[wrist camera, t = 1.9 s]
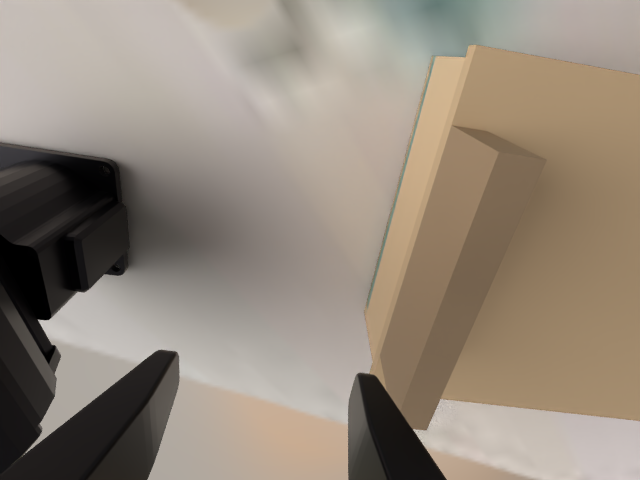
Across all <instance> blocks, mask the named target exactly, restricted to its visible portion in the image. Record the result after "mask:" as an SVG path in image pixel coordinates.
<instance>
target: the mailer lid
mask: <svg viewBox="0 0 640 480" xmlns="http://www.w3.org/2000/svg"><path fill="white" fill-rule="evenodd" d="M369 374H373V375H375V376H377V378H378V379H379V380H380V382H381V383H382V385H383V386H384V388H385V389H386V391H387V392H388V394H389V395H390V397H391V398H392V400H393V401H394V403H395V404H396V406H397V407H398V409H399V410H400V411H401V413H402V414H403V416H404V417H405V419H406V420H407V422H408V423H409V425H410V426H411V428H412V429H418V430H427V428H428V426H429V423H430V421H431V419H432V417H433V414H434V412H435V410H436V408H437V405H438V403H439V401H440V399H446V400H455V401H464V402H473V403H482V404H491V405H500V406H509V407H518V408H528V409H537V410H546V411H555V412H564V413H573V414H582V415H591V416H600V417H609V418H618V419H627V420H636V421H640V75H637V74H631V73H626V72H621V71H615V70H610V69H604V68H599V67H593V66H588V65H583V64H577V63H572V62H566V61H561V60H555V59H550V58H545V57H539V56H534V55H528V54H523V53H517V52H512V51H507V50H501V49H496V48H490V47H485V46H480V45H469V47H468V50H467V54H466V57H465V60H464V63H463V67H462V70H461V73H460V77H459V80H458V83H457V87H456V90H455V93H454V96H453V100H452V103H451V106H450V110H449V113H448V116H447V119H446V123H445V126H444V129H443V133H442V136H441V139H440V143H439V146H438V149H437V152H436V156H435V159H434V162H433V166H432V169H431V172H430V175H429V179H428V182H427V185H426V189H425V192H424V195H423V198H422V202H421V205H420V208H419V212H418V215H417V218H416V222H415V225H414V228H413V231H412V235H411V238H410V241H409V245H408V248H407V251H406V254H405V258H404V261H403V264H402V268H401V271H400V274H399V277H398V281H397V284H396V287H395V291H394V294H393V297H392V301H391V304H390V307H389V310H388V314H387V317H386V320H385V324H384V327H383V330H382V333H381V337H380V340H379V343H378V347H377V350H376V353H375V357H374V360H373V363H372V366H371V370H370V373H369Z"/></svg>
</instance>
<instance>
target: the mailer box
mask: <svg viewBox="0 0 640 480" xmlns="http://www.w3.org/2000/svg"><path fill="white" fill-rule="evenodd" d="M464 60H465V57H444V56H432V58H431V62H430V65H429V69H428V73H427V77H426V80H425V84H424V88H423V92H422V95H421V99H420V103H419V107H418V110H417V114H416V118H415V122H414V125H413V129H412V133H411V137H410V141H409V144H408V148H407V152H406V156H405V159H404V163H403V167H402V171H401V174H400V178H399V182H398V186H397V189H396V193H395V197H394V201H393V204H392V208H391V212H390V216H389V219H388V223H387V227H386V231H385V234H384V238H383V242H382V246H381V250H380V253H379V257H378V261H377V265H376V268H375V272H374V276H373V280H372V283H371V287H370V291H369V295H368V298H367V302H366V306H365V310H364V314H365V320H366V325H367V331H368V337H369V343H370V349H371V355H372V361H373V360H374V357H375V353H376V350H377V347H378V343H379V340H380V337H381V333H382V330H383V327H384V324H385V320H386V317H387V314H388V310H389V307H390V304H391V301H392V297H393V294H394V291H395V287H396V284H397V281H398V277H399V274H400V271H401V268H402V264H403V261H404V258H405V254H406V251H407V248H408V245H409V241H410V238H411V235H412V231H413V228H414V225H415V222H416V218H417V215H418V212H419V208H420V205H421V202H422V198H423V195H424V192H425V189H426V185H427V182H428V179H429V175H430V172H431V169H432V166H433V162H434V159H435V156H436V152H437V149H438V146H439V143H440V139H441V136H442V133H443V129H444V126H445V123H446V119H447V116H448V113H449V110H450V106H451V103H452V100H453V96H454V93H455V90H456V87H457V83H458V80H459V77H460V73H461V70H462V67H463V63H464Z"/></svg>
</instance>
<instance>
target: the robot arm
mask: <svg viewBox="0 0 640 480" xmlns="http://www.w3.org/2000/svg"><path fill="white" fill-rule="evenodd" d="M103 166H105V167H107V168H108V169H109V171H110V174H108V173H106V172H105V171H104V169H103ZM129 247H130V245H129V235H128V224H127V213H126V206H125V205H124V203H123V202H122V196H121V185H120V175H119V169H118V166H117V165H116V163H115V162H113V161H112V160H109V159H104V158H98V157H91V156H84V155H78V154H71V153H64V152H58V151H51V150H44V149H38V148H31V147H24V146H17V145H11V144H4V143H0V480H147V479H148V477H149V474H150V472H151V469H152V467H153V464H154V462H155V458H156V456H157V453H158V450H159V446H160V443H161V440H162V437H163V434H164V431H165V428H166V425H167V421H168V418H169V415H170V412H171V409H172V406H173V402H174V399H175V396H176V393H177V389H178V385H179V355H178V353H177V352H175V351H167V350H158V351H156V352H154V353H153V354H152V355H151V356H149V357H148V358H147V359H145V360H144V361H143V362H142V363H140V364H139V365H138V366H137V367H135V368H134V369H133V370H132V371H130V372H129V373H128V374H127V375H125V376H124V377H123V378H121V379H120V380H119V381H118V382H116V383H115V384H114V385H112V386H111V387H110V388H109V389H107V390H106V391H105V392H104V393H102V394H101V395H100V396H99V397H97V398H96V399H95V400H93V401H92V402H91V403H90V404H88V405H87V406H86V407H84V408H83V409H82V410H81V411H79V412H78V413H77V414H76V415H74V416H73V417H72V418H70V420H68V421H67V422H65V423H64V424H63V425H62V426H60V427H59V428H58V429H56V430H55V431H54V432H53V433H51V434H50V435H49V436H48V437H46V438H45V439H44V440H42V441H41V442H40V443H39V444H37V445H36V446H35V447H34V448H33V449H31V450H30V451H28V452H27V453H26V454H25V452H26V451H27V450H28V449H29V448H30V447H31V446H32V444H33V443H34V442H35V441H36V440H37V439H38V437H39V436H40V434H41V432H42V427H41V425H40V422H41V421H42V419H43V417H44V415H45V414H46V412H47V410H48V408H49V406H50V404H51V402H52V400H53V399H54V397H55V388H56V377H55V375H54V374H55V371H56V368H57V366H58V363H59V360H60V358H61V355H60V353H59V351H58V349H57V347H56V346H55V345H51V343H50V341H49V339H48V337H47V336H46V334H45V332H44V330H43V328H42V327H41V325H40V323H39V321H38V320H37V319H39V320H49V319H50V318H52V317H53V316H54V315H55V314H56V313H57V312H58V311H59V310H60V309H61V308H62V307H63V306H64V305H65V304H66V303H67V302H68V301H69V300H70V299H71V298H72V297H73V296H74V295H75V294H76V293H77V292H86V291H87V290H89V289H90V288H91V287H92V286H93V285H94V284H95V283H96V282H97V281H98V280H99V279H100V278H101V277H102V276H103V275H104V274H108V275H116V276H119V275H122V274H123V273H124V272H125V271H126V270H127V268H128V258H127V250H128V249H129ZM115 264H117V265H118V266H119V267H120V268H118V267H116V266H115ZM24 454H25V455H24ZM348 473H349V474H348V475H349V480H447V479H446V478H445V477H444V475H443V473H442V472H441V471H440V469H439V468H438V466H437V465H436V463H435V462H434V460H433V459H432V457H431V456H430V454H429V453H428V451H427V450H426V448H425V447H424V445H423V444H422V442H421V441H420V440H419V438H418V437H417V435H416V434H415V432H414V431H413V429H412V428H411V426H410V425H409V423H408V422H407V420H406V419H405V417H404V416H403V414H402V413H401V411H400V410H399V409H398V407H397V406H396V404H395V403H394V401H393V400H392V398H391V397H390V395H389V394H388V392H387V391H386V389H385V388H384V386H383V385H382V383H381V382H380V380H379V379H378V378H377V376H375V375H373V374H366V373H358V374H357V375H356V377H355V380H354V384H353V387H352V391H351V394H350V398H349V406H348Z"/></svg>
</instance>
